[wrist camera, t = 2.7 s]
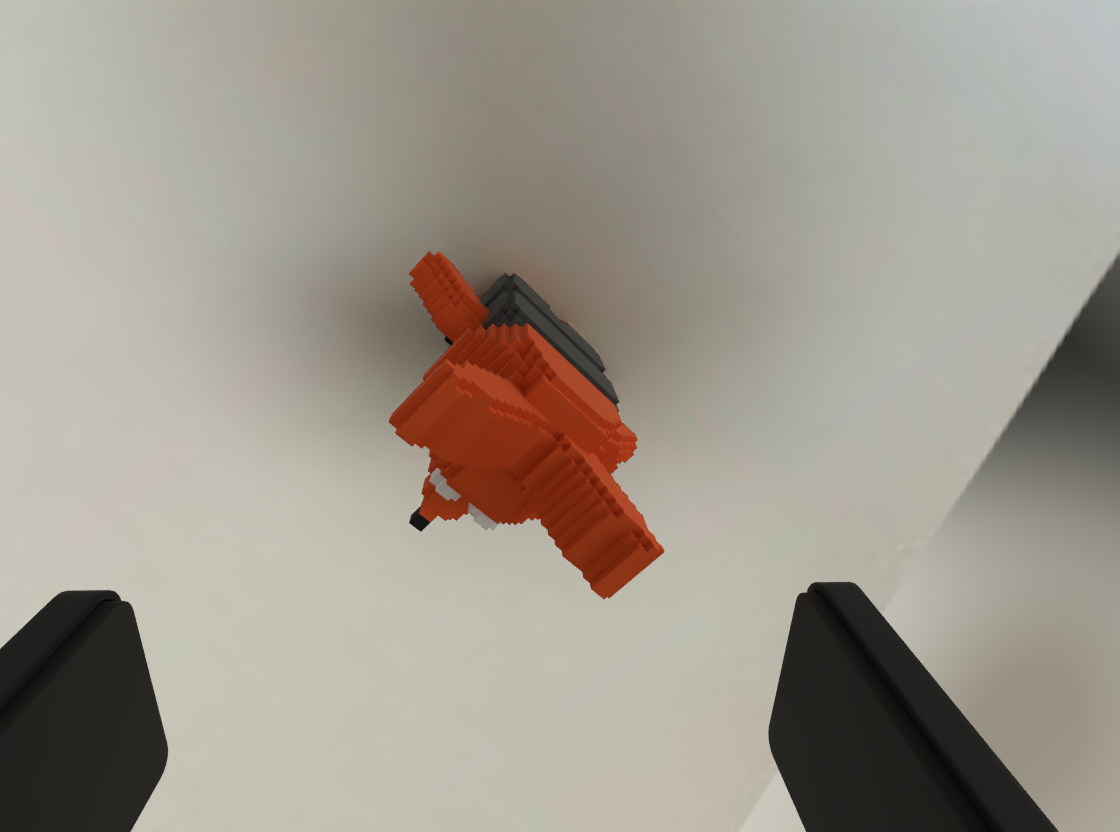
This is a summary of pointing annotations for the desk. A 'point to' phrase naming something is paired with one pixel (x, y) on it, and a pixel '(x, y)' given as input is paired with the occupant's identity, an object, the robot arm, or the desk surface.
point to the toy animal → (523, 426)
